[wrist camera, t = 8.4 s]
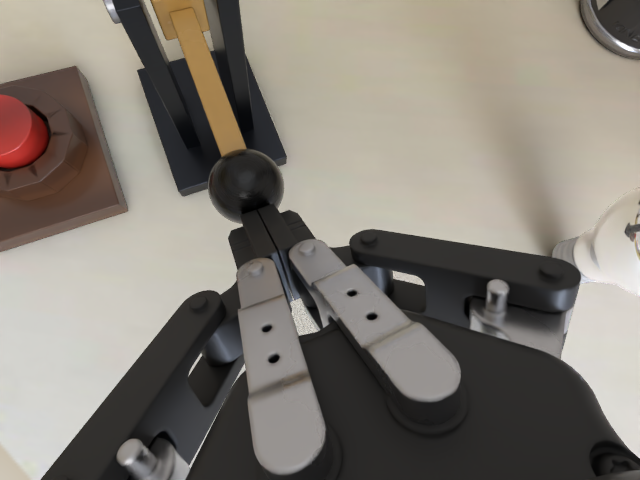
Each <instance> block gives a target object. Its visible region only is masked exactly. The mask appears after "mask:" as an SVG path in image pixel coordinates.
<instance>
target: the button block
mask: <svg viewBox="0 0 640 480" xmlns="http://www.w3.org/2000/svg"><path fill="white" fill-rule="evenodd" d="M0 95H7V96H11V97H14V98H16V99H18V100H20V101H21V102H23V103H24V104H25V105H26V106H27V107H28V108H30V109H31V110H32V111H33V112H34V113H35V114H36V115H38V116H39V117H40V118H41V119H42V120H43V121H44V123H45V124H46V126H47V129H48V133H49V140H48V145H47V147H46V149H45V151H44V152H43V154H42V155H41V156H40V157H39V158H38V159H37V160H35V161H34V162H32V163H31V164H29V165H27V166H24V167H20V168H14V169H6V168H0V252H2V251H5V250H8V249H11V248H14V247H18V246H21V245H24V244H27V243H30V242H33V241H36V240H39V239H43V238H46V237H49V236H52V235H55V234H58V233H61V232H64V231H68V230H71V229H74V228H77V227H80V226H83V225H86V224H90V223H93V222H96V221H99V220H102V219H105V218H108V217H111V216H115V215H118V214H121V213H124V212H127V211H128V208H127V205H126V202H125V199H124V196H123V193H122V189H121V186H120V183H119V180H118V177H117V174H116V170H115V167H114V164H113V161H112V158H111V155H110V152H109V148H108V145H107V142H106V139H105V136H104V133H103V129H102V126H101V123H100V120H99V117H98V114H97V110H96V107H95V104H94V101H93V98H92V95H91V91H90V88H89V85H88V82H87V79H86V78H85V77H84V75H83V74H82V73H81V72H80V70H79V69H78V68H77V67H76V66H73V67H69V68H65V69H61V70H57V71H52V72H48V73H44V74H40V75H36V76H32V77H28V78H24V79H20V80H15V81H11V82H7V83H3V84H0Z"/></svg>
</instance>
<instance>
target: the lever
mask: <svg viewBox="0 0 640 480" xmlns="http://www.w3.org/2000/svg"><path fill="white" fill-rule="evenodd" d="M150 1H151V3H152V6H153V8H154V11H155V13H156V16H157V19H158V21H159V24H160V26H161V29H162V31H163V34H164V36H165V39H166V40H171V39H175V38H178V40H179V43H180V46H181V48H182V51H183V54H184V56H185V59H186V62H187V65H188V67H189V70H190V73H191V75H192V78H193V81H194V83H195V86H196V89H197V92H198V94H199V97H200V100H201V102H202V105H203V108H204V111H205V113H206V116H207V119H208V121H209V124H210V127H211V129H212V132H213V135H214V138H215V140H216V143H217V146H218V148H219V151H220V154H221V158H220V159H219V160H218V161H217V162H216V163H215V165H214V166H213V168H212V170H211V172H210V175H209V180H208V192H209V196H210V199H211V201H212V204H213V205H214V207H215V208H216V209H217V211H218V212H219V213H220V214H221V215H222V216H224V217H225V218H227V219H229V220H230V221H233V222H236V223H240V224H242V221H241V219H240V216H239V215H242V214H245V213H248V212H250V211H253V210H256V211H257V212H258V210H257V209H259V208H262V207H265V206H268V205H270V204H273V203H274V205H275V206H276V208H277V209H278V207H279V205H280V203H281V201H282V198H283V194H284V182H283V177H282V174H281V172H280V170H279V168H278V166H277V165H276V164H275V162H274V161H273V160H272V159H271V158H269V157H268V156H267V155H265V154H263V153H261V152H259V151H256V150H252V149H247V148H246V145H245V143H244V140H243V137H242V135H241V132H240V130H239V127H238V124H237V122H236V119H235V116H234V114H233V111H232V109H231V106H230V103H229V101H228V98H227V95H226V93H225V90H224V87H223V85H222V82H221V80H220V77H219V74H218V72H217V69H216V66H215V64H214V61H213V59H212V56H211V53H210V51H209V48H208V45H207V43H206V40H205V37H204V35H203V32H204V31H208V30H210V26H209V22H208V17H207V13H206V8H205V4H204V0H150Z"/></svg>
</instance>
